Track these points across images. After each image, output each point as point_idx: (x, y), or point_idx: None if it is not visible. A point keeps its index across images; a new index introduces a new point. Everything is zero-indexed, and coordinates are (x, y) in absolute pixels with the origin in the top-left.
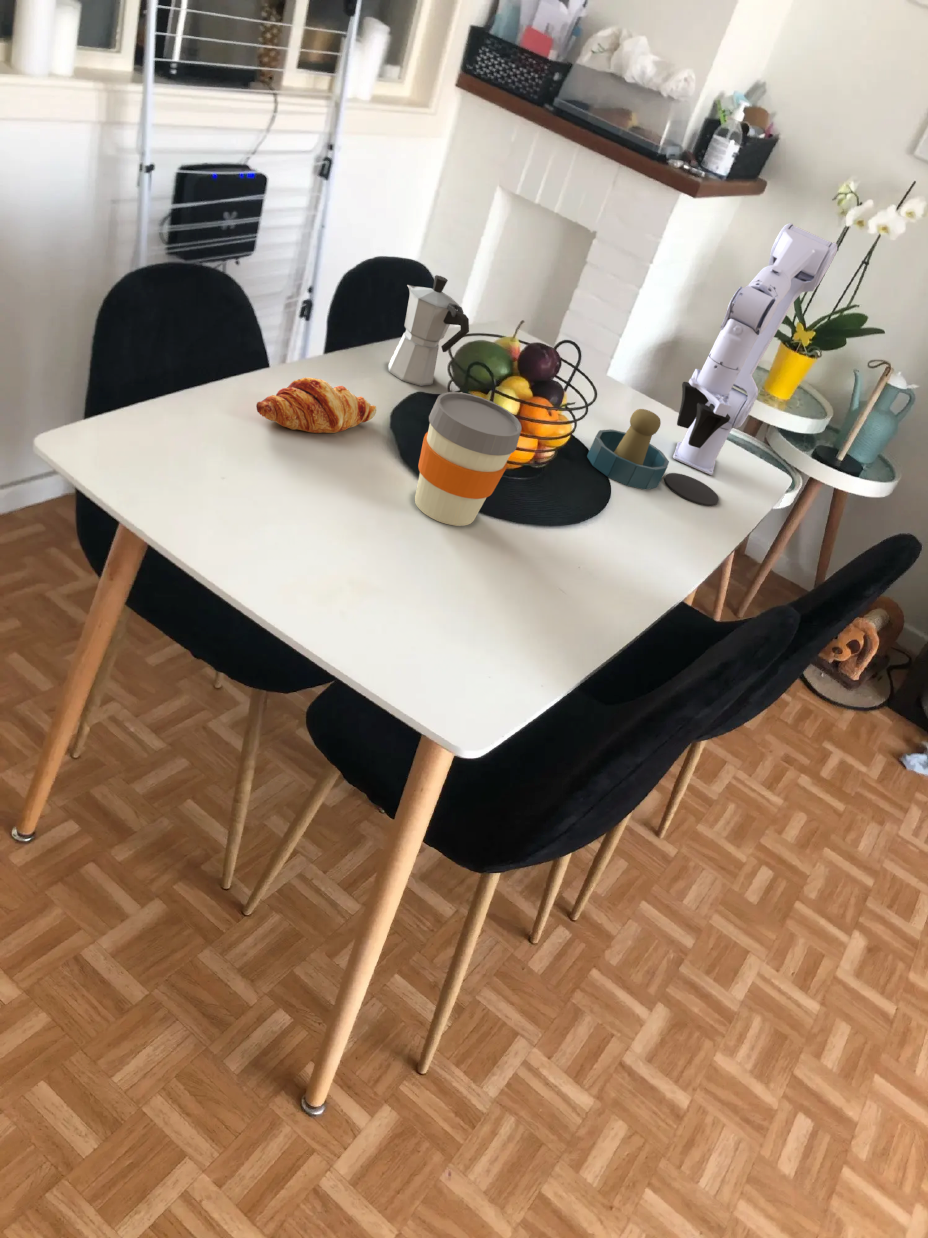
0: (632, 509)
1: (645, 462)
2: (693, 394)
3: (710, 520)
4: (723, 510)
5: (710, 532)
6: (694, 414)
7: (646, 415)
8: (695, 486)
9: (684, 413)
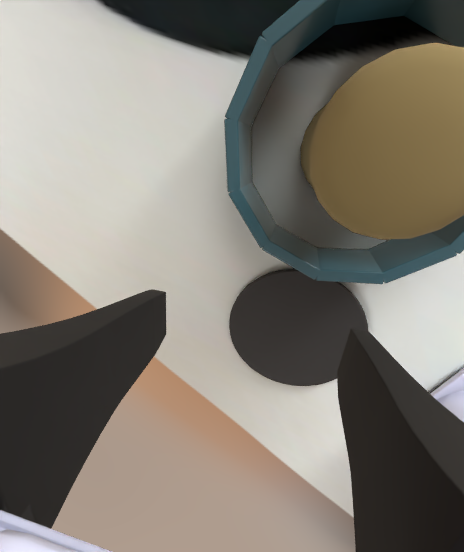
0: (112, 95)
1: (394, 242)
2: (405, 526)
3: (171, 312)
4: (230, 366)
5: (119, 286)
6: (349, 432)
7: (372, 113)
8: (309, 348)
9: (365, 380)
